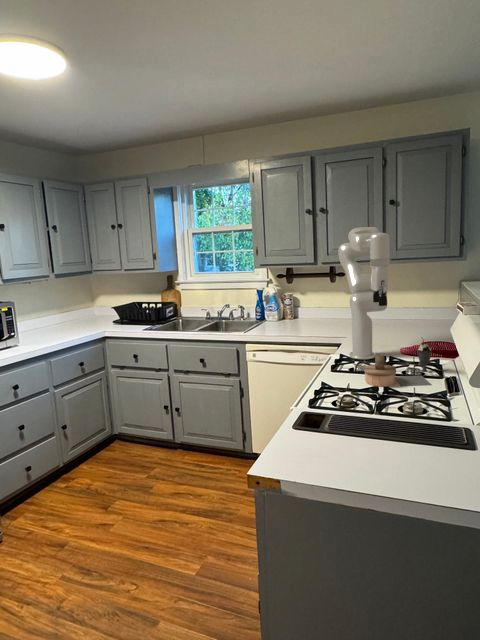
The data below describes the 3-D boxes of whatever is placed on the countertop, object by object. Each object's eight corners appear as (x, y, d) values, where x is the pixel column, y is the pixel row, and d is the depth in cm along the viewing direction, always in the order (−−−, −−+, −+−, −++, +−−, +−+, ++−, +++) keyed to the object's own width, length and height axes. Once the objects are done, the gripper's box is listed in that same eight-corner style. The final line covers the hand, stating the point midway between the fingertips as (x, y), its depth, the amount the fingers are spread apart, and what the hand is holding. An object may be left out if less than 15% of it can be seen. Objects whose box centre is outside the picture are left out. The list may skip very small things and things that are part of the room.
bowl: (363, 379, 186) (362, 368, 185) (390, 378, 185) (390, 366, 184) (369, 388, 175) (368, 376, 174) (398, 387, 174) (398, 375, 173)
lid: (361, 367, 186) (360, 353, 185) (391, 366, 185) (391, 352, 184) (367, 376, 174) (367, 361, 172) (400, 375, 173) (400, 360, 172)
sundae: (419, 369, 195) (420, 335, 192) (435, 371, 190) (435, 337, 187) (413, 372, 190) (413, 338, 188) (428, 375, 186) (429, 340, 183)
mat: (392, 378, 185) (392, 376, 185) (421, 376, 185) (421, 375, 184) (400, 387, 174) (400, 386, 174) (432, 386, 173) (432, 385, 173)
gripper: (366, 262, 194) (366, 301, 197) (375, 265, 177) (375, 307, 180) (383, 261, 193) (383, 300, 196) (394, 264, 176) (394, 306, 179)
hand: (379, 303), depth 188 cm, fingers open, 9 cm apart
